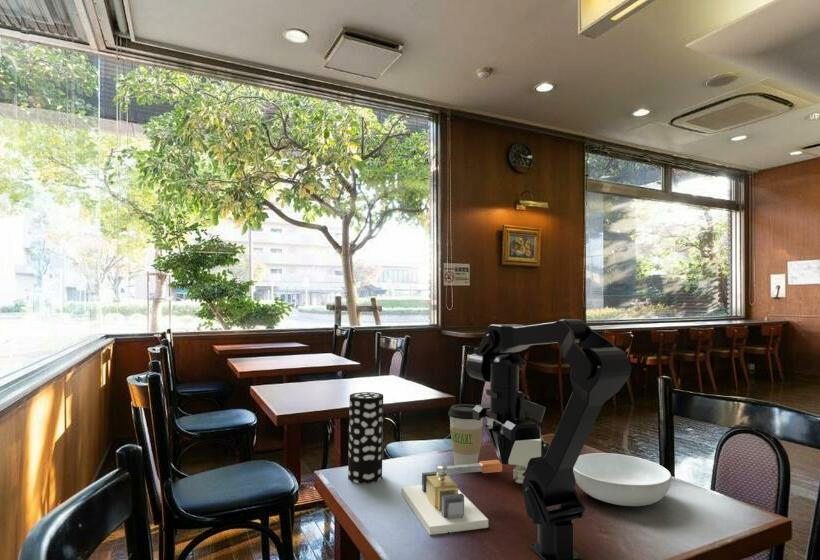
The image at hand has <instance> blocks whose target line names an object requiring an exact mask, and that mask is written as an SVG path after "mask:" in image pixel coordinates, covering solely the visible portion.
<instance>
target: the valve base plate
mask: <svg viewBox="0 0 820 560" xmlns="http://www.w3.org/2000/svg"><path fill="white" fill-rule="evenodd" d="M457 489H458V494H463V493H462V492H461V490H460V489H459V488H458V487H457ZM400 492H401V493H400V494H401V495H402V497H403V498H404V499H405V501H406V503H407V504H408V505H409V507H410V509H411V510H412V512H413V513H414V514H415V516H416V517H417V519H418V520H419V522H420V523H421V524H422V526H423V527H424V529H425V531H426V532H427V533H428V535H429V536H433V535H442V534H447V533H448V532H449V533H455V532H456V533H457V532H464V531H472V530H480V529H481V530H482V529H487V528H489V519H488V518H487V516H485V514H484V513H482V512H481V510H479V508H477V507H476V505H475V504H473V502H472V501H470V500H469V498H468V497H467V496H466V495H464V515H463V518H456V519H448V518H447V517H446V518H444V517H443V516H442V511H439V510H438V509H437V508H434V507H433V505H432V504H431V503H430V502H429V500H428V499H427V495H426V492H423V491H422V484H419V485H417V484H416V485H409V486H401V491H400Z"/></svg>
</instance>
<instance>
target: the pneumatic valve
mask: <svg viewBox="0 0 820 560" xmlns="http://www.w3.org/2000/svg"><path fill="white" fill-rule="evenodd" d="M550 444H551V442H549V441H545V439H544V437H543V435H542V434H541V438H540V439H533V440H520V441H515V443H514V445H513V448H512V451H511V454H510V457H509V460H508V463H507V464H506V465H514V466H515V468H513V469H512V478H513V480H515V483H516V484H519V485H520V484H521V485H523V480H524V476H523V475H522V474H523V473H524V472H525V471H526V469H527V465H528V462H529V460H530V459H531V458H535V457H541V456H545V455H546V453H547V451H548V448H549V446H550Z"/></svg>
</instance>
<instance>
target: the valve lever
mask: <svg viewBox="0 0 820 560" xmlns="http://www.w3.org/2000/svg"><path fill="white" fill-rule="evenodd" d="M436 472H437V475H438V476H439V480H440V481H444V480H445V476H448V475H456V474H465V473H466V474H468V473H477V472H479V473H480V472H481V473H482V474H488V473H498V472H499V473H501V472H503V464H501V463H500V460H499V459H488V460H478V463H475V464H464V465H455V464H453V465H445V464H439V465H437V466H436Z"/></svg>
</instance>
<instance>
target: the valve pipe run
mask: <svg viewBox="0 0 820 560" xmlns="http://www.w3.org/2000/svg"><path fill="white" fill-rule="evenodd" d="M421 485H422V491H423V492H426V495H427V499H428V500H429V502H430V503H431V504H432V505H433V507H434V508H437V509H438V510H439V511H442V516H443V517H444V518H446V517H447V518H448V519H456V518H463V515H464V496H465V494H464V493H462V494H458V489H459V488H458V484H457V483H456V482H455V481H454V480H453V479H452V478H451V477H450V475H447V476H445V480H444V481H440V480H439V476H438V475H437V471H428V472H427V471H426V472H422V473H421ZM457 488H458V489H457Z"/></svg>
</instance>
